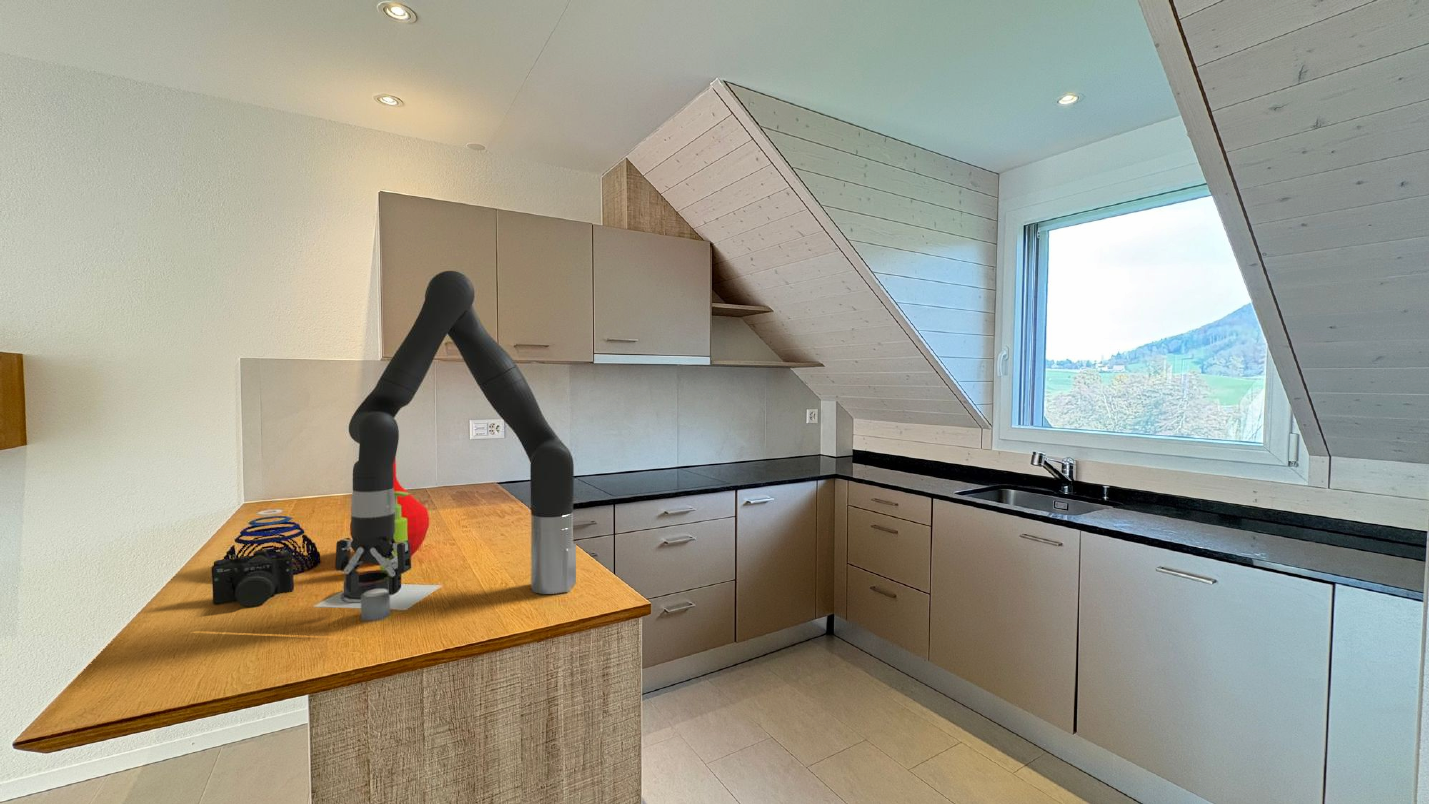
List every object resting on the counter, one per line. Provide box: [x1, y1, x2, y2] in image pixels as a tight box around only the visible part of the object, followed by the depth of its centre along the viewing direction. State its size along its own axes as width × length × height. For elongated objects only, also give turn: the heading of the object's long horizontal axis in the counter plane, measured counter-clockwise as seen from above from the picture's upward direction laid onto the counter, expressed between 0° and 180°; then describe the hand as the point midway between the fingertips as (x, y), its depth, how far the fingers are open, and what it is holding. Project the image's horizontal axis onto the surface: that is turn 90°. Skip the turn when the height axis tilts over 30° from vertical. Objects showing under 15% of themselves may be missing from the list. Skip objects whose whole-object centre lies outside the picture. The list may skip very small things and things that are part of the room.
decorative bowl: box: [223, 509, 321, 576], centre depth 145 cm, size 20×20×14 cm
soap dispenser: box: [379, 491, 411, 575], centre depth 142 cm, size 6×7×20 cm
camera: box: [210, 549, 295, 608], centre depth 124 cm, size 14×11×10 cm
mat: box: [312, 583, 443, 611], centre depth 127 cm, size 20×14×1 cm
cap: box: [360, 589, 391, 623], centre depth 116 cm, size 5×5×5 cm
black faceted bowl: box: [341, 570, 392, 603], centre depth 128 cm, size 11×11×4 cm
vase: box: [349, 456, 430, 557], centre depth 155 cm, size 18×18×30 cm
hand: (373, 592), depth 116 cm, fingers open, 8 cm apart
